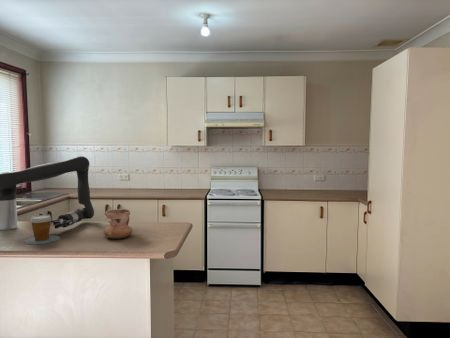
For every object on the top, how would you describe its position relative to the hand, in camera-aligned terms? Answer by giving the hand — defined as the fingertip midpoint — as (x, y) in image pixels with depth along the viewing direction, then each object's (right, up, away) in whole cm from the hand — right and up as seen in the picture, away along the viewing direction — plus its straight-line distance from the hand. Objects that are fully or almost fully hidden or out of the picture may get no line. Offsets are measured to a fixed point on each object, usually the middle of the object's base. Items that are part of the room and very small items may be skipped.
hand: (48, 226), depth 173 cm
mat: (-1, -6, -4) cm, 8 cm away
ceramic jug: (+37, -6, +2) cm, 38 cm away
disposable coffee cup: (-1, -6, -4) cm, 8 cm away
